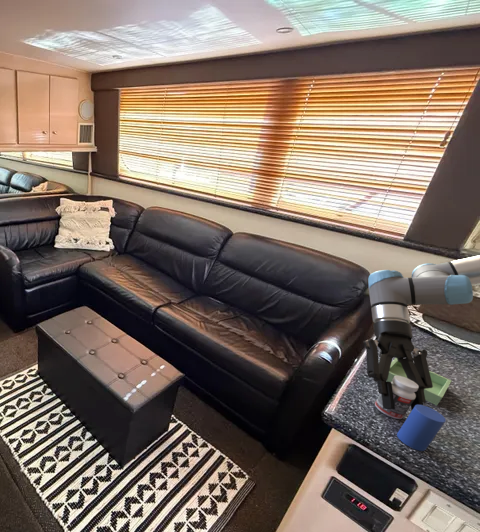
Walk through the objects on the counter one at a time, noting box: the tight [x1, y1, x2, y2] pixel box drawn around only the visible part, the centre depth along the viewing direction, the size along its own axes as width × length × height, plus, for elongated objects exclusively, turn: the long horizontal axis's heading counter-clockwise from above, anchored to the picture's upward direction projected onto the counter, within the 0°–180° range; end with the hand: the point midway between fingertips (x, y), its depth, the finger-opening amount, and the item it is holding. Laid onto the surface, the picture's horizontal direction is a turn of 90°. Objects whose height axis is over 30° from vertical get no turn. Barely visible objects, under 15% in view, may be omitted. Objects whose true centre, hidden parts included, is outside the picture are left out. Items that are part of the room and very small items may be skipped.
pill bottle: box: [374, 376, 419, 420], centre depth 82 cm, size 6×6×10 cm
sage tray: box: [386, 357, 453, 406], centre depth 96 cm, size 13×15×3 cm
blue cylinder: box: [396, 404, 447, 452], centre depth 73 cm, size 5×5×9 cm
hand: (403, 411), depth 79 cm, fingers closed on pill bottle, 6 cm apart
